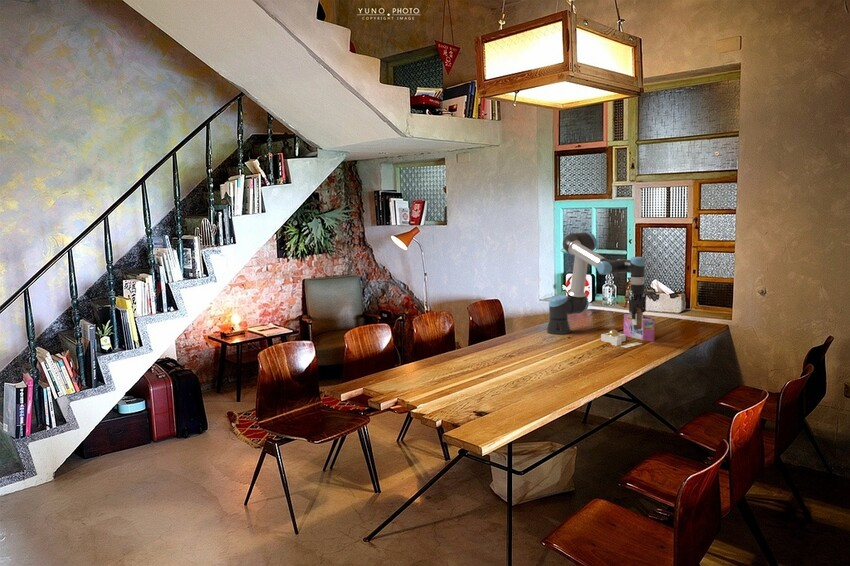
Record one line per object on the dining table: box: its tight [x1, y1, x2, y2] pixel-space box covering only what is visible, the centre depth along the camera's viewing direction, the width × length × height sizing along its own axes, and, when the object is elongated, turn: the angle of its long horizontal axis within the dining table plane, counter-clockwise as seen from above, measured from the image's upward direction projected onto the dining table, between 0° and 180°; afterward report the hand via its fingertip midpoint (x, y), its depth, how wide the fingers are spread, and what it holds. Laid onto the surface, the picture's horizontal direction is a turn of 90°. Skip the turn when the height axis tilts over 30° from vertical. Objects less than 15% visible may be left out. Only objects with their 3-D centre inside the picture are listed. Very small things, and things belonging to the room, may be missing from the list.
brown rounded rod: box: [634, 307, 642, 329], centre depth 375 cm, size 4×4×12 cm
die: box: [610, 337, 622, 347], centre depth 377 cm, size 4×4×4 cm
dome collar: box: [600, 332, 627, 344], centre depth 386 cm, size 10×10×4 cm
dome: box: [607, 329, 620, 337], centre depth 386 cm, size 7×7×6 cm
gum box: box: [623, 313, 656, 342], centre depth 397 cm, size 24×8×14 cm, turn 13°
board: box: [620, 341, 643, 349], centre depth 382 cm, size 22×16×1 cm
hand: (637, 323), depth 376 cm, fingers closed on brown rounded rod, 4 cm apart
